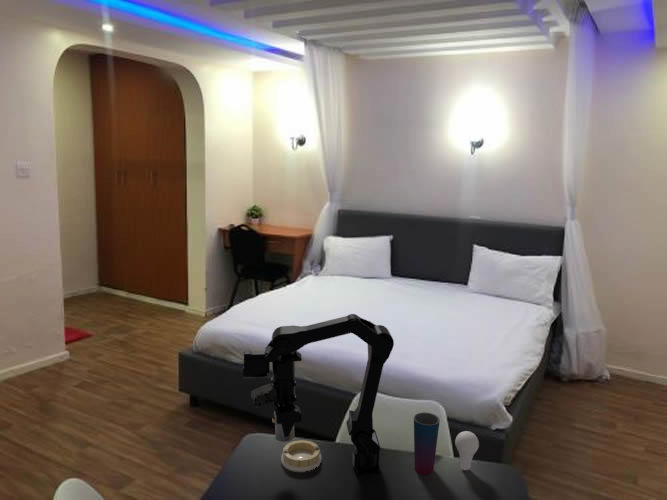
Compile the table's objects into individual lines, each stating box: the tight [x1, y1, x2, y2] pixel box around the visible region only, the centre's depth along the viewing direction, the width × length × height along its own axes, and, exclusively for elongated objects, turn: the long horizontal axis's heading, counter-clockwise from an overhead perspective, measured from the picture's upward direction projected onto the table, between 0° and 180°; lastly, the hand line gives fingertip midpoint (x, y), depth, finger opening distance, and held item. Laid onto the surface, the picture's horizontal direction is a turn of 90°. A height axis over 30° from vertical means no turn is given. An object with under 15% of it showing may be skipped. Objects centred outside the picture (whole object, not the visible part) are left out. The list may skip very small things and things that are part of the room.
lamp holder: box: [280, 439, 322, 473], centre depth 153 cm, size 11×11×4 cm
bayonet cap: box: [271, 410, 295, 443], centre depth 146 cm, size 6×5×7 cm
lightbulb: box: [454, 430, 480, 471], centre depth 149 cm, size 6×6×11 cm
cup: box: [413, 411, 441, 476], centre depth 149 cm, size 7×7×15 cm
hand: (285, 431), depth 147 cm, fingers closed on bayonet cap, 5 cm apart
